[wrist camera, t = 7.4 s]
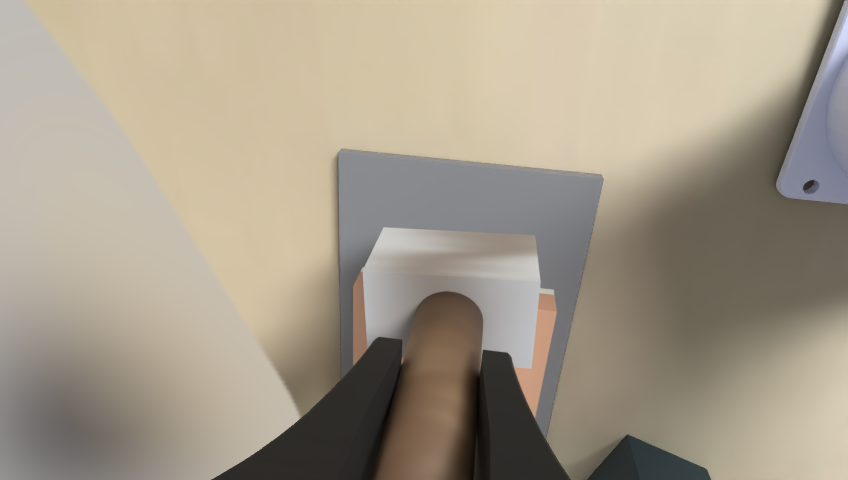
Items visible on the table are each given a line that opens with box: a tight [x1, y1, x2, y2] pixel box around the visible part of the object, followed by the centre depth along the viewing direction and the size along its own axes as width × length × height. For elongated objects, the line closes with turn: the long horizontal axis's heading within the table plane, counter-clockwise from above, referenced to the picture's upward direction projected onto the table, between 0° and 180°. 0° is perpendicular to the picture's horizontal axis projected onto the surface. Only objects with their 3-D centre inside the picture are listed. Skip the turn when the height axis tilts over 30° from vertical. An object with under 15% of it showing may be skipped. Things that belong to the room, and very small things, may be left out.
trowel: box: [363, 227, 541, 480], centre depth 14 cm, size 5×3×10 cm, turn 90°
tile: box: [353, 267, 557, 418], centre depth 24 cm, size 8×2×8 cm
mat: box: [338, 149, 604, 439], centre depth 24 cm, size 10×15×1 cm, turn 176°
